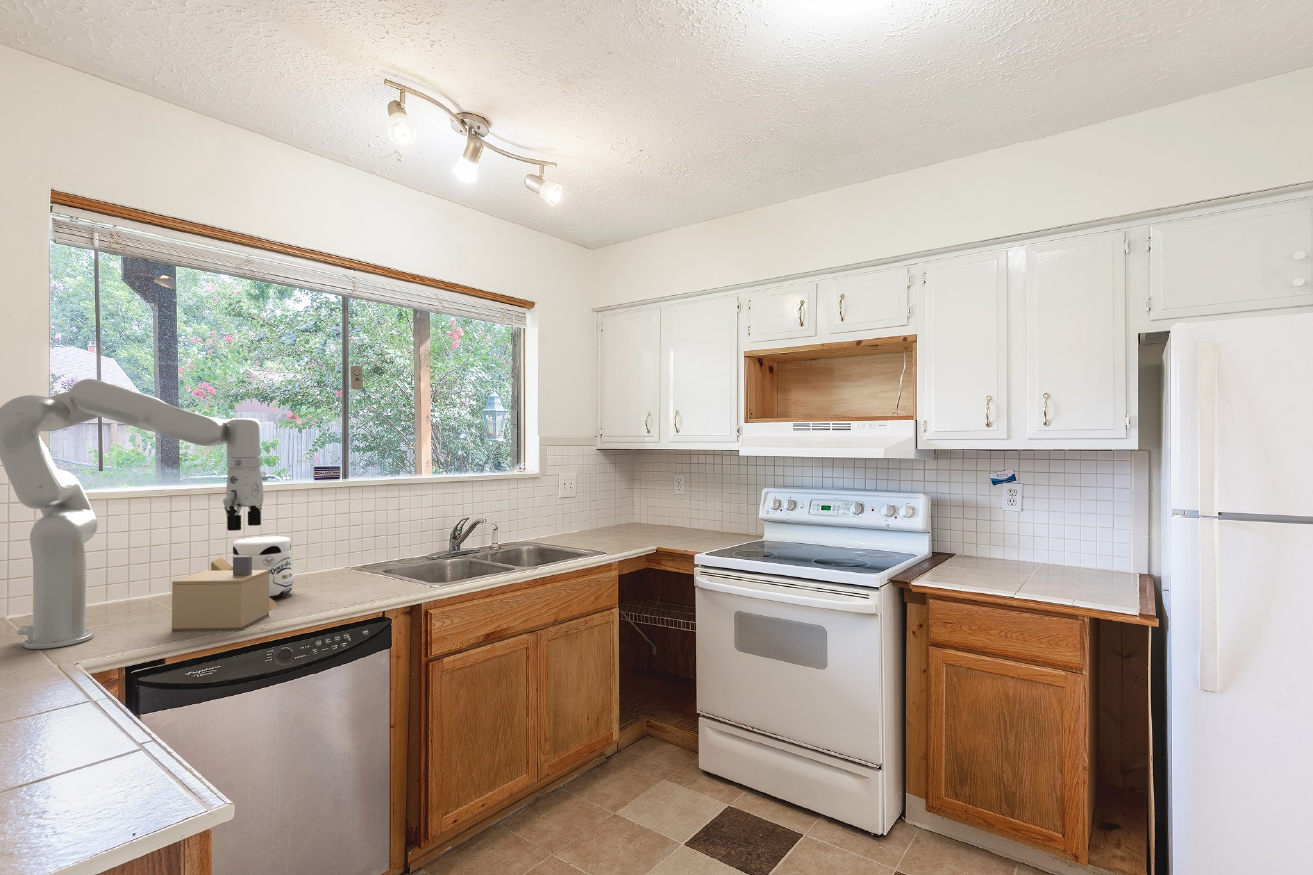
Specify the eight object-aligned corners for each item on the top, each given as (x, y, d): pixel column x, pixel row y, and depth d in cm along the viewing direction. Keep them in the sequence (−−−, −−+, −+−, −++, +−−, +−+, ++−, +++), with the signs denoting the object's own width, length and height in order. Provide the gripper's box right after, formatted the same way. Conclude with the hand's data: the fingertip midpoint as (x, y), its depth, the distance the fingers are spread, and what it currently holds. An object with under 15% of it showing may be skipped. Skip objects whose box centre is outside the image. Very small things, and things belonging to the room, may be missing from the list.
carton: (171, 631, 168) (172, 584, 168) (205, 617, 182) (205, 573, 182) (241, 630, 169) (241, 583, 169) (269, 616, 183) (269, 573, 183)
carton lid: (172, 584, 168) (172, 561, 168) (205, 573, 182) (205, 552, 182) (241, 583, 169) (241, 561, 169) (269, 572, 183) (269, 551, 183)
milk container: (296, 599, 202) (296, 541, 203) (229, 607, 193) (230, 546, 193) (290, 588, 217) (291, 534, 217) (228, 595, 207) (228, 538, 207)
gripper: (240, 465, 168) (241, 532, 168) (274, 462, 185) (275, 523, 185) (209, 465, 167) (210, 532, 167) (246, 463, 184) (247, 523, 184)
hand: (244, 527), depth 176 cm, fingers open, 9 cm apart
